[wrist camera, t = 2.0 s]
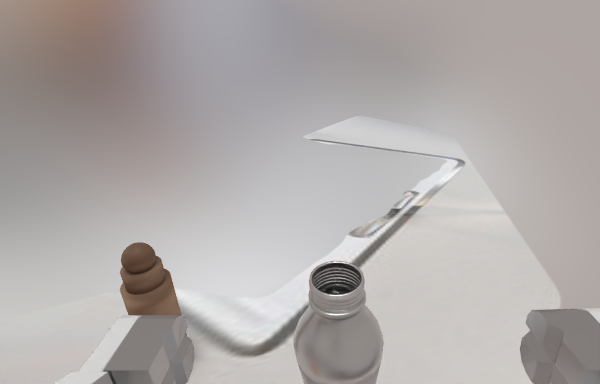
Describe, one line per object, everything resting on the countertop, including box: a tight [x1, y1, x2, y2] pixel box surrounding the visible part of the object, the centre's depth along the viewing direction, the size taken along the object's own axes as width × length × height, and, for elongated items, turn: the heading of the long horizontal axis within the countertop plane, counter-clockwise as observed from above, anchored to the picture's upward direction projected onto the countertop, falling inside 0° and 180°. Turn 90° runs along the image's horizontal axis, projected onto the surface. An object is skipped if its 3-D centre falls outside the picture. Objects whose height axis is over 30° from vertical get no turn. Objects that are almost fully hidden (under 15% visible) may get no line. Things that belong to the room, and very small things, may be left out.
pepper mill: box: [120, 243, 187, 336], centre depth 38 cm, size 5×5×17 cm
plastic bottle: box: [294, 261, 384, 384], centre depth 27 cm, size 6×7×20 cm
